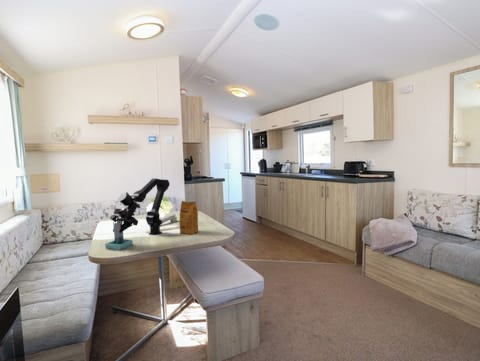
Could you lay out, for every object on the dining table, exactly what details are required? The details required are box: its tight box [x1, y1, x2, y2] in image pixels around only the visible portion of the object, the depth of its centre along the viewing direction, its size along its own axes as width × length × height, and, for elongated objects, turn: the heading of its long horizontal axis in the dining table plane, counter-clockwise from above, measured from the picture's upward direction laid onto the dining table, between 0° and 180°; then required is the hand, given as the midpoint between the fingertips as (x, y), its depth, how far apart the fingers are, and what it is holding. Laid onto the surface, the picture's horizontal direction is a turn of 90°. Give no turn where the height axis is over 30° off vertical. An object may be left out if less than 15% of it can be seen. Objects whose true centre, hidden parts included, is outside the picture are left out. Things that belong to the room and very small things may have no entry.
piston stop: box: [112, 221, 125, 245], centre depth 168 cm, size 5×5×13 cm
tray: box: [104, 238, 134, 251], centre depth 169 cm, size 11×11×3 cm
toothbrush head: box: [148, 213, 178, 227], centre depth 222 cm, size 5×7×25 cm
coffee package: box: [179, 200, 199, 235], centre depth 195 cm, size 10×12×22 cm
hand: (116, 232), depth 167 cm, fingers closed on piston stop, 5 cm apart
